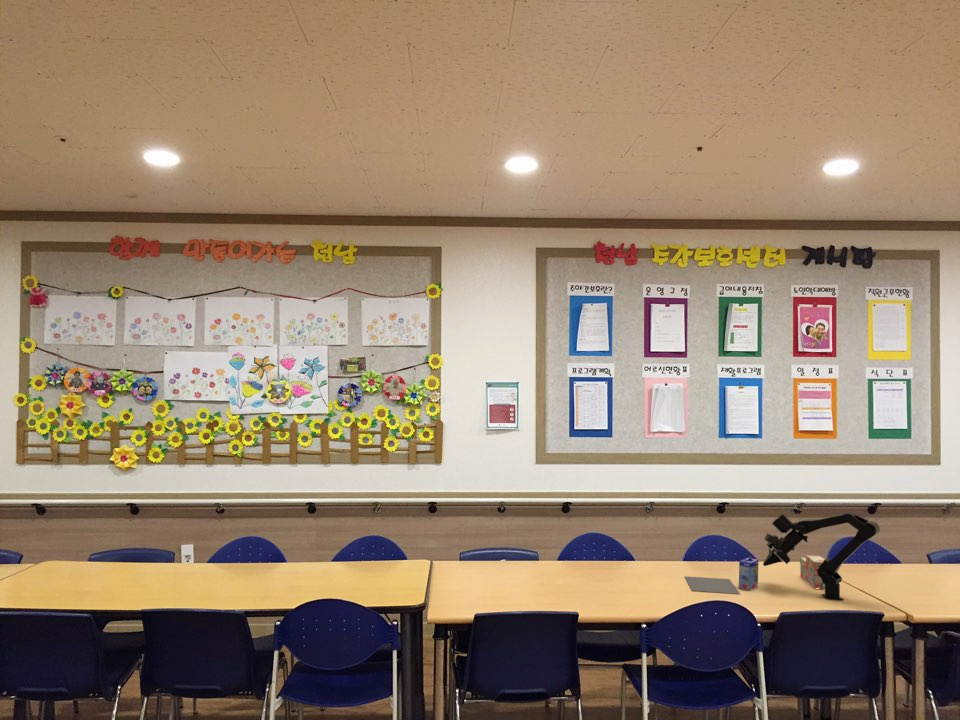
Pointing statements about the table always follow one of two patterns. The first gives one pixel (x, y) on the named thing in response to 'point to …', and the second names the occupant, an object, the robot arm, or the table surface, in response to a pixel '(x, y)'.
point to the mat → (711, 585)
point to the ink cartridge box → (748, 573)
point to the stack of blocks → (812, 570)
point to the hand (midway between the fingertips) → (763, 565)
